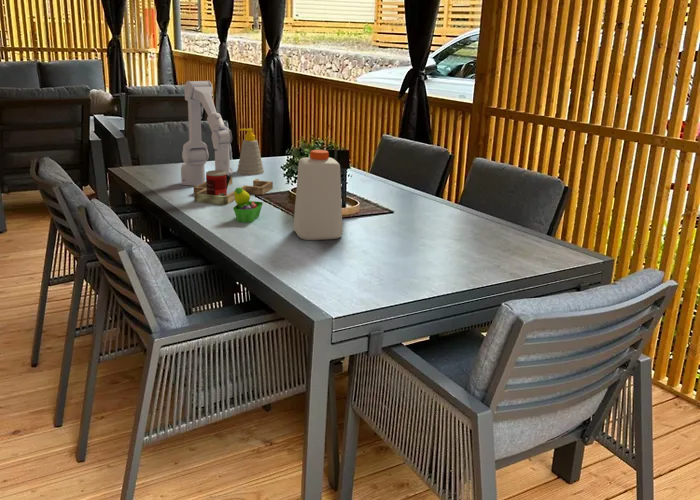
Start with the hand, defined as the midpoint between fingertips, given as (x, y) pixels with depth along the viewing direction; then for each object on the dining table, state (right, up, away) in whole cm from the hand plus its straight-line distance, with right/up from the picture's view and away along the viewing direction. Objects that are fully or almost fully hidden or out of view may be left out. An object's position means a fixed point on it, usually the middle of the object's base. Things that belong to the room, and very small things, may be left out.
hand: (223, 193), depth 266 cm
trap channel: (+2, +1, +5) cm, 5 cm away
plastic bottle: (+40, -17, -43) cm, 62 cm away
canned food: (-1, -3, -6) cm, 7 cm away
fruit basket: (+14, -12, -29) cm, 34 cm away
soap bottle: (+4, +14, +45) cm, 48 cm away
